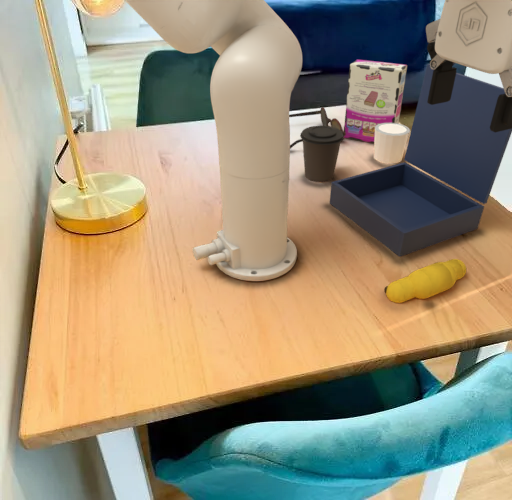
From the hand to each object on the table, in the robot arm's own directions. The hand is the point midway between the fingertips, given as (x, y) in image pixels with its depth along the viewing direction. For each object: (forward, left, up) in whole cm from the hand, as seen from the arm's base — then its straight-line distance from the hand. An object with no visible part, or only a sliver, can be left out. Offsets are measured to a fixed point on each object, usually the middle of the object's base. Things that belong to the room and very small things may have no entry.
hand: (468, 115), depth 59 cm
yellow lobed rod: (-2, -2, -24) cm, 24 cm away
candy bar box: (+25, +45, -24) cm, 57 cm away
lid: (+16, +15, -10) cm, 24 cm away
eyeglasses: (+12, +53, -24) cm, 59 cm away
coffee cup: (+4, +34, -24) cm, 42 cm away
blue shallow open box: (+7, +15, -24) cm, 29 cm away
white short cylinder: (+21, +34, -24) cm, 46 cm away
